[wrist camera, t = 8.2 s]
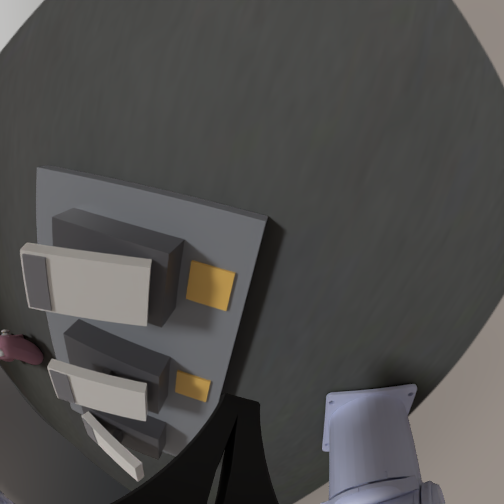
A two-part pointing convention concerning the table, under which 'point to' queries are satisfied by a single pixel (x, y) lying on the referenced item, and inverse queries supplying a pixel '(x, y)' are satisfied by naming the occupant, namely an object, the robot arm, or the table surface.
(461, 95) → the table surface
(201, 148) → the table surface
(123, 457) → the rocker far
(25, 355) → the video game controller
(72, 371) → the rocker middle
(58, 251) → the rocker near
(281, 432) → the table surface
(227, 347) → the switch board
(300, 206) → the table surface
